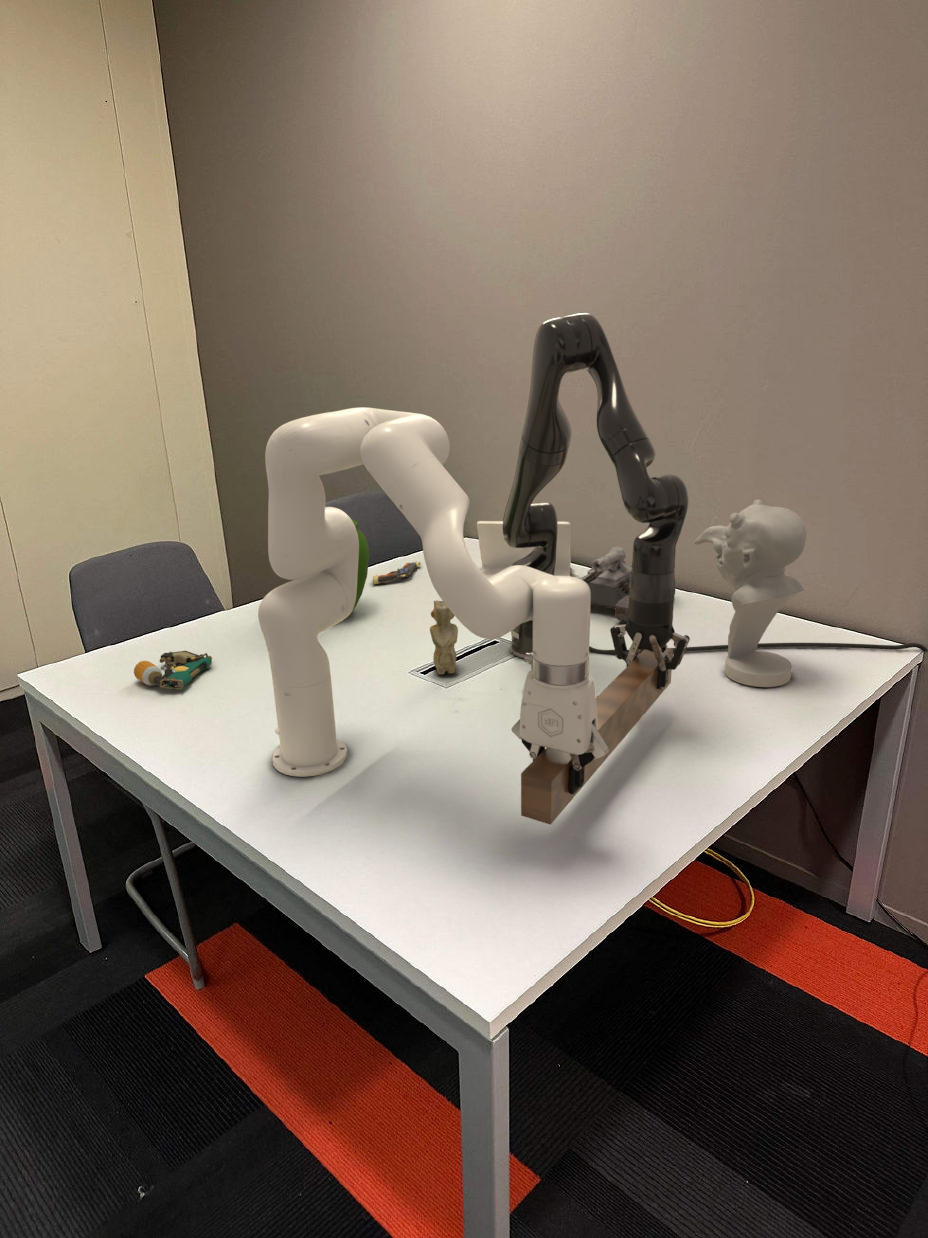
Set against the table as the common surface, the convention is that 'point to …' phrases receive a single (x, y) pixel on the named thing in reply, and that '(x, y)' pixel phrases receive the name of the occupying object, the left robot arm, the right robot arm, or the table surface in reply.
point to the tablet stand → (517, 549)
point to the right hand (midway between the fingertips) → (646, 684)
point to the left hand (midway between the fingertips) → (558, 783)
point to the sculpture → (444, 638)
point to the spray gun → (172, 669)
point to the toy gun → (396, 573)
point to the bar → (614, 721)
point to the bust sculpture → (757, 585)
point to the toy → (610, 582)
